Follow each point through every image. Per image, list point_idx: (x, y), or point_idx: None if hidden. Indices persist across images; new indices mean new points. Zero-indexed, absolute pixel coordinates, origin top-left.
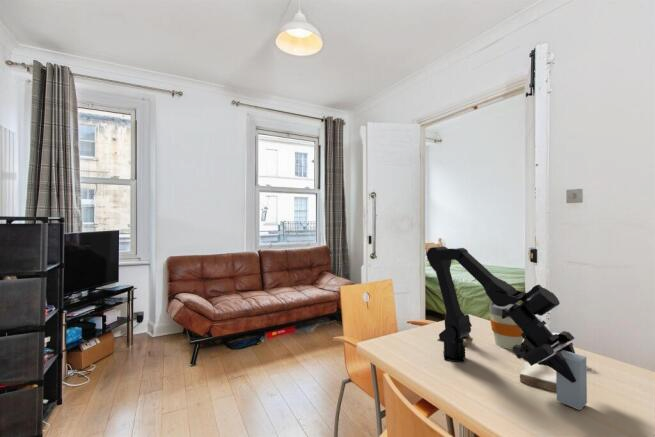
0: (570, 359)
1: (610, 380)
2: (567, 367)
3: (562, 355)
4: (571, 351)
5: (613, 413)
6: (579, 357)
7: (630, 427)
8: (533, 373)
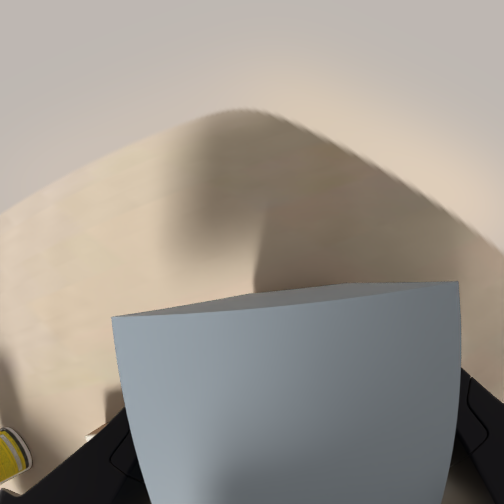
0: (451, 411)
1: (8, 303)
2: (467, 378)
3: (491, 491)
4: (122, 491)
5: (222, 206)
6: (230, 378)
7: (278, 137)
8: None
